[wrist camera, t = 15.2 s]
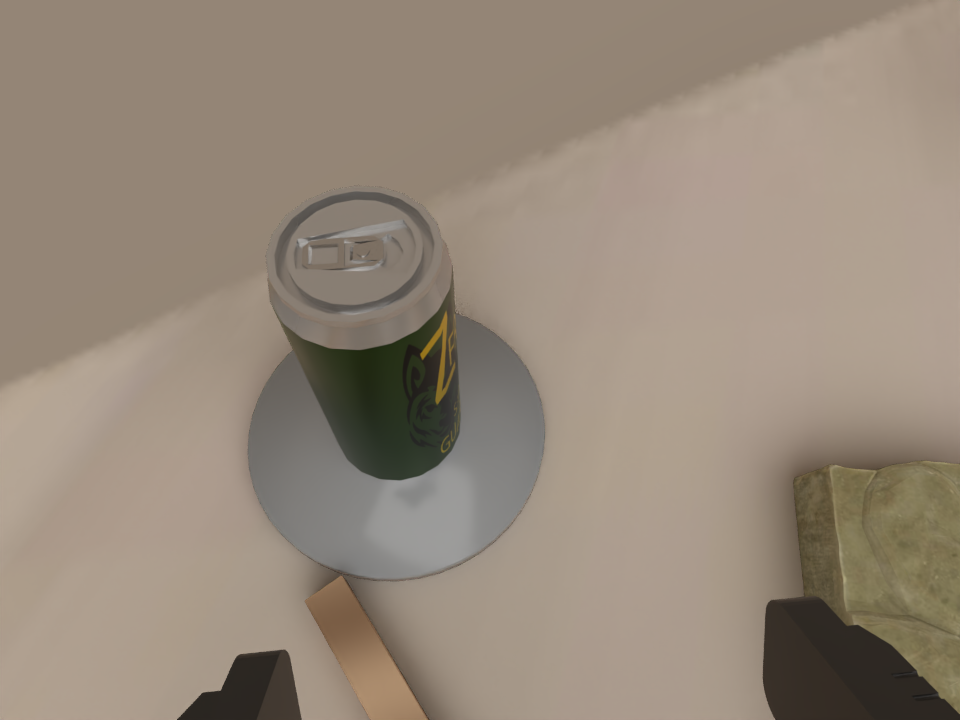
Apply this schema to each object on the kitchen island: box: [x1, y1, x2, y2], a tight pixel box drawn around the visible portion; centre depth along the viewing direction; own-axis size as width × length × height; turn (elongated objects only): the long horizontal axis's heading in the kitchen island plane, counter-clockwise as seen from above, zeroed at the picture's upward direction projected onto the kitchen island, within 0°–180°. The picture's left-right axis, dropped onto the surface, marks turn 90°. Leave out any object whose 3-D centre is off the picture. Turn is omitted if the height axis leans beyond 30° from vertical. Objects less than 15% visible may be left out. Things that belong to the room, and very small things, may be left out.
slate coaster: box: [248, 313, 545, 581], centre depth 29 cm, size 13×13×1 cm
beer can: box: [266, 186, 461, 481], centre depth 23 cm, size 5×5×12 cm
